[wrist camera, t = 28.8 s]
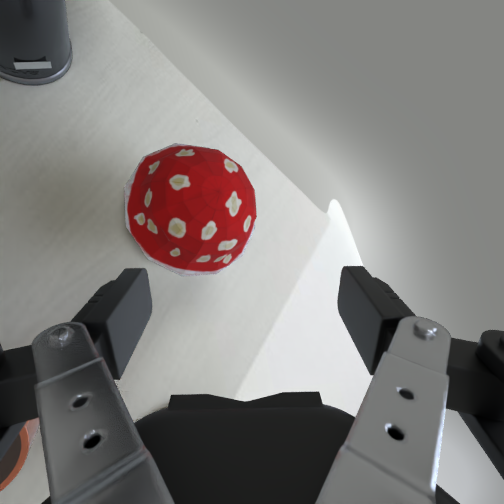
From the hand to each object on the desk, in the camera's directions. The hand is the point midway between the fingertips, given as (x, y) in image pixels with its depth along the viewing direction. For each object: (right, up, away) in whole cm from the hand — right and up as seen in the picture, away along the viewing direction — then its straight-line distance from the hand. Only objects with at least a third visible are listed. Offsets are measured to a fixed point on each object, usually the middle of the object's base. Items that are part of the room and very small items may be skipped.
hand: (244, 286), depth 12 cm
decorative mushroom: (-9, +5, +25) cm, 28 cm away
